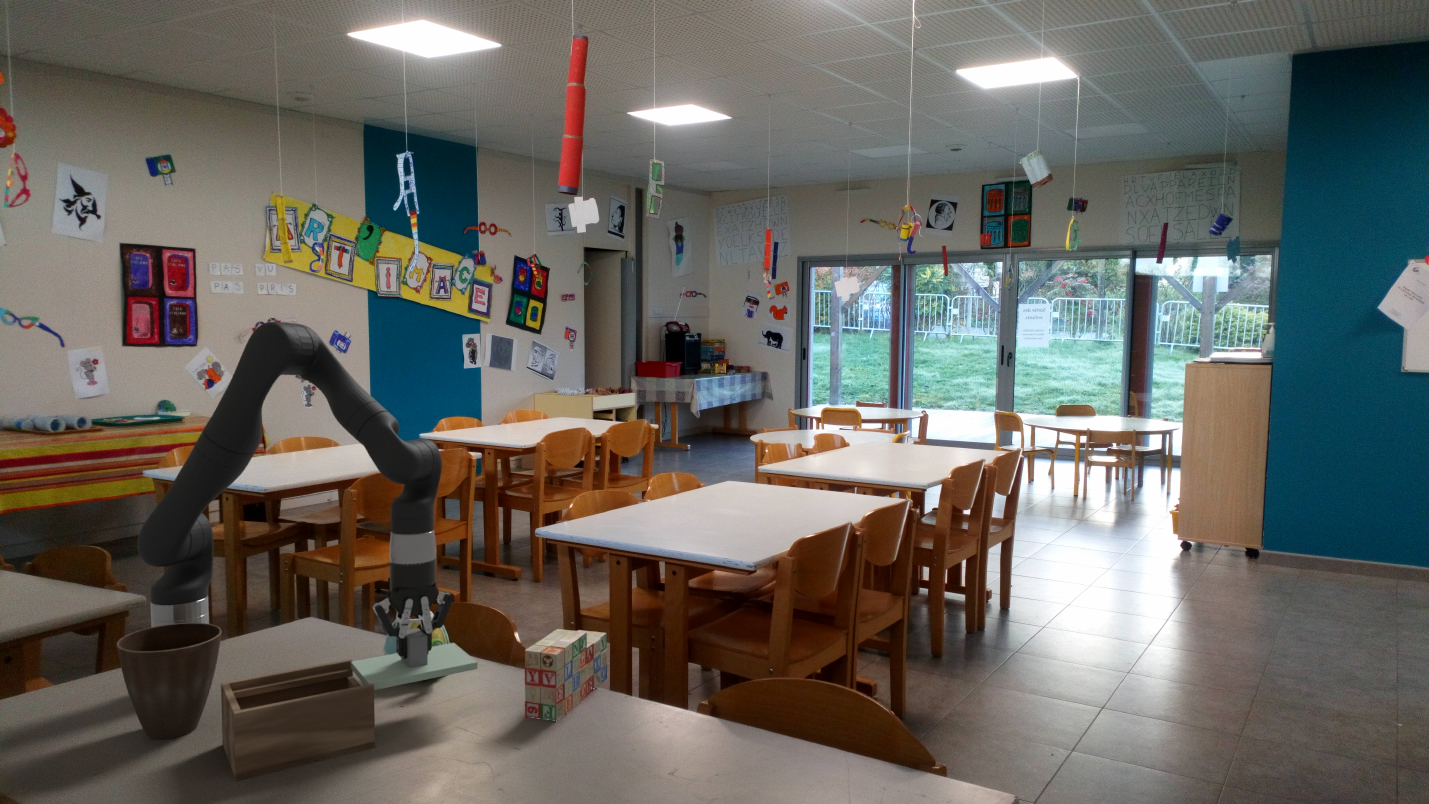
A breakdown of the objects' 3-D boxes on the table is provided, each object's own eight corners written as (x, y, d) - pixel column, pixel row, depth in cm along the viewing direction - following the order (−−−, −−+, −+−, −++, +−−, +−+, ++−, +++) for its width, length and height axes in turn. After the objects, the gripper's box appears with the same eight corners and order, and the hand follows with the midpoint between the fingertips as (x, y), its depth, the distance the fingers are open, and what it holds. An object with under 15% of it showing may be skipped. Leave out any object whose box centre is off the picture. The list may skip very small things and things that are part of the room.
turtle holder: (405, 699, 167) (404, 635, 166) (375, 669, 181) (374, 610, 180) (470, 684, 174) (469, 622, 173) (436, 657, 189) (435, 600, 188)
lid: (350, 668, 157) (350, 633, 156) (453, 648, 167) (453, 615, 167) (369, 690, 147) (368, 653, 147) (477, 668, 157) (477, 633, 157)
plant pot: (217, 704, 163) (214, 616, 162) (230, 734, 151) (227, 640, 150) (117, 724, 154) (114, 631, 153) (122, 758, 142) (119, 657, 141)
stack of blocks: (578, 675, 180) (578, 614, 179) (607, 679, 178) (608, 617, 177) (524, 717, 159) (524, 648, 159) (556, 722, 157) (556, 653, 157)
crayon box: (222, 744, 147) (220, 682, 147) (352, 715, 159) (351, 658, 158) (236, 780, 135) (234, 713, 135) (374, 747, 147) (374, 685, 146)
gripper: (446, 547, 163) (447, 642, 164) (364, 557, 155) (366, 657, 156) (460, 555, 157) (461, 654, 158) (376, 566, 149) (377, 670, 150)
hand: (414, 655), depth 157 cm, fingers closed on lid, 3 cm apart
